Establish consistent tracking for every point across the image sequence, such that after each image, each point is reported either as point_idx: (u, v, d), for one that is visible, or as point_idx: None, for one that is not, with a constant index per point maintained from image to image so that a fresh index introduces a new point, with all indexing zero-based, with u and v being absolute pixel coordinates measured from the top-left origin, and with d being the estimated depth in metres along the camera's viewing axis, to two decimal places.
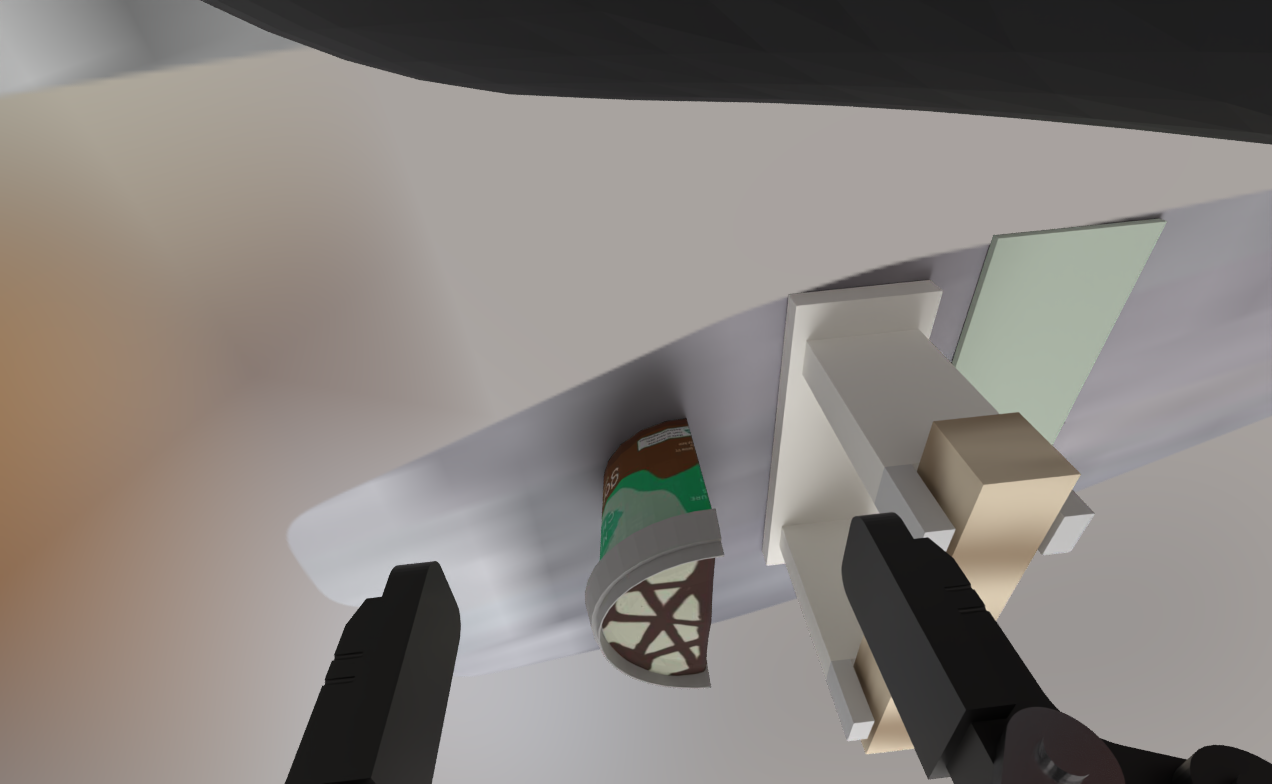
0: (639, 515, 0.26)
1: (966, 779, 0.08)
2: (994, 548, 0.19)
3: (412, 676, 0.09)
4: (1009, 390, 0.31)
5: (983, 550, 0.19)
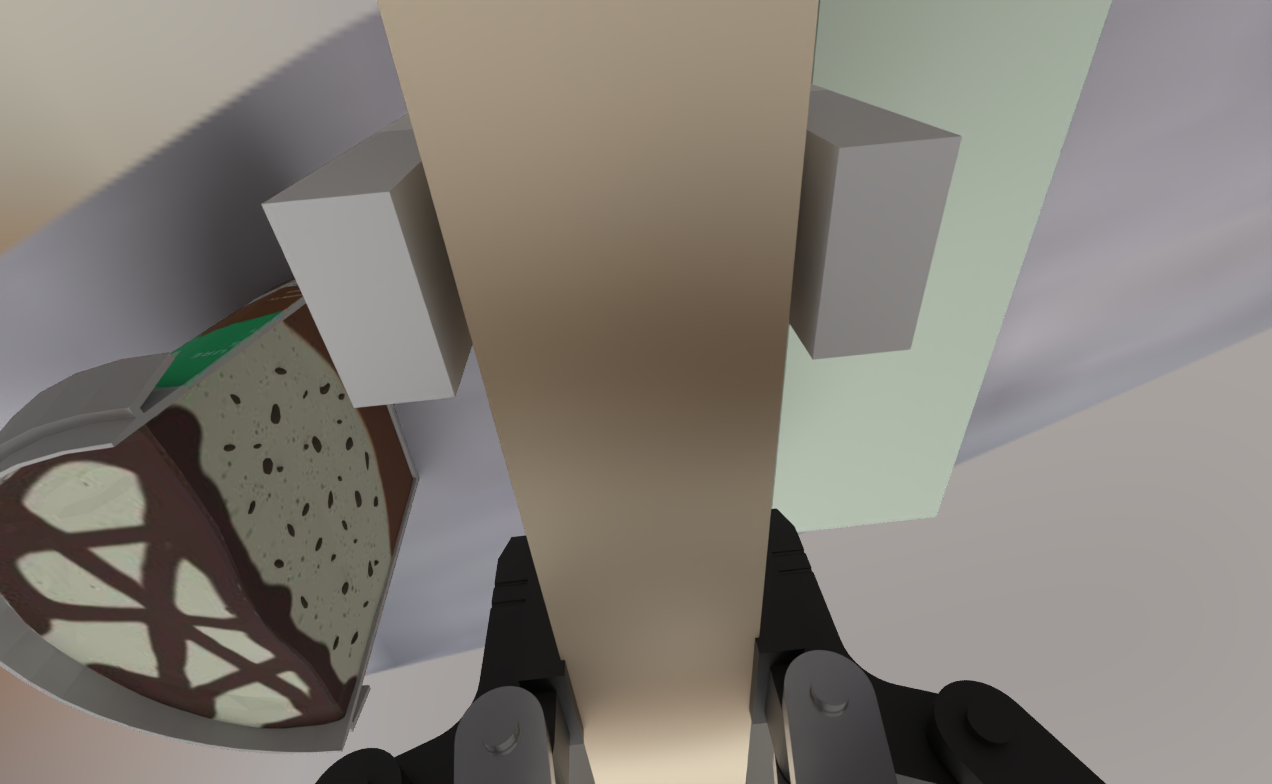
0: None
1: (771, 719, 0.09)
2: (622, 318, 0.05)
3: None
4: None
5: (581, 323, 0.05)
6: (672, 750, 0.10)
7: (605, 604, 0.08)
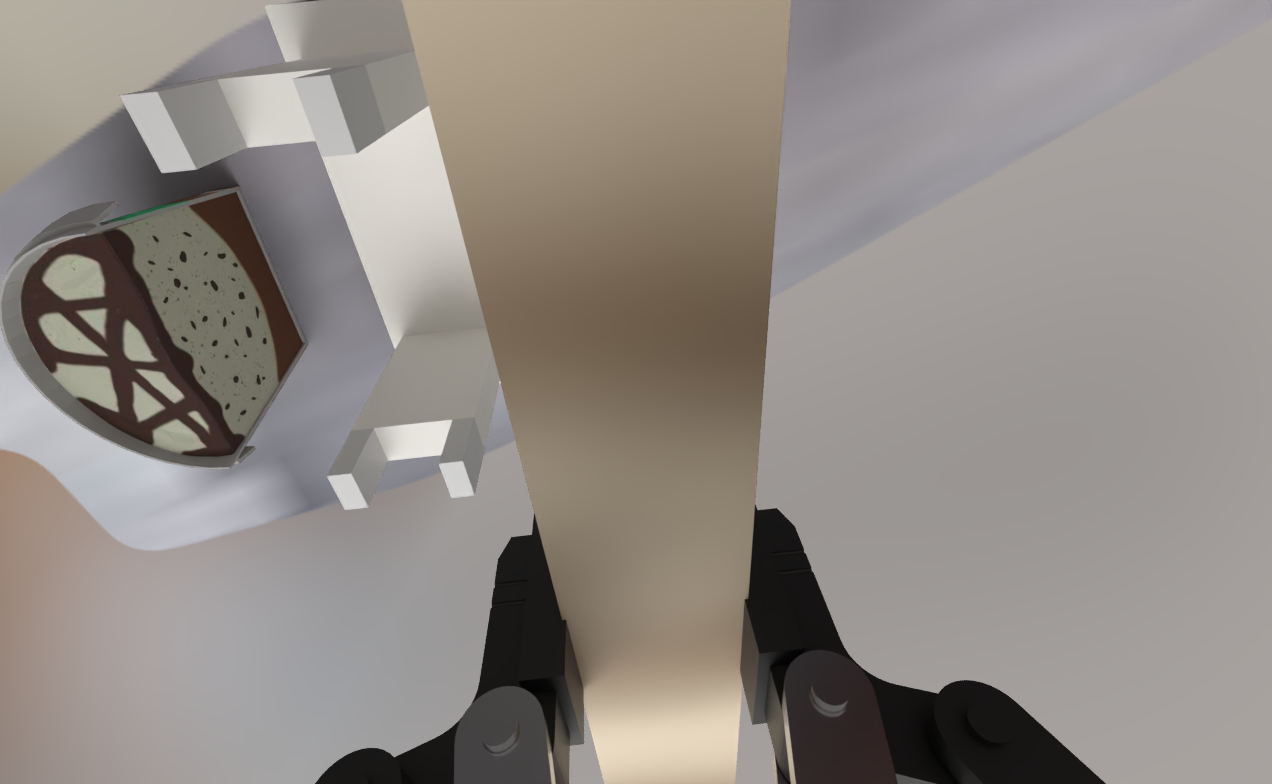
0: None
1: (772, 719, 0.09)
2: (617, 290, 0.06)
3: None
4: None
5: (581, 294, 0.06)
6: (668, 711, 0.11)
7: (604, 564, 0.08)
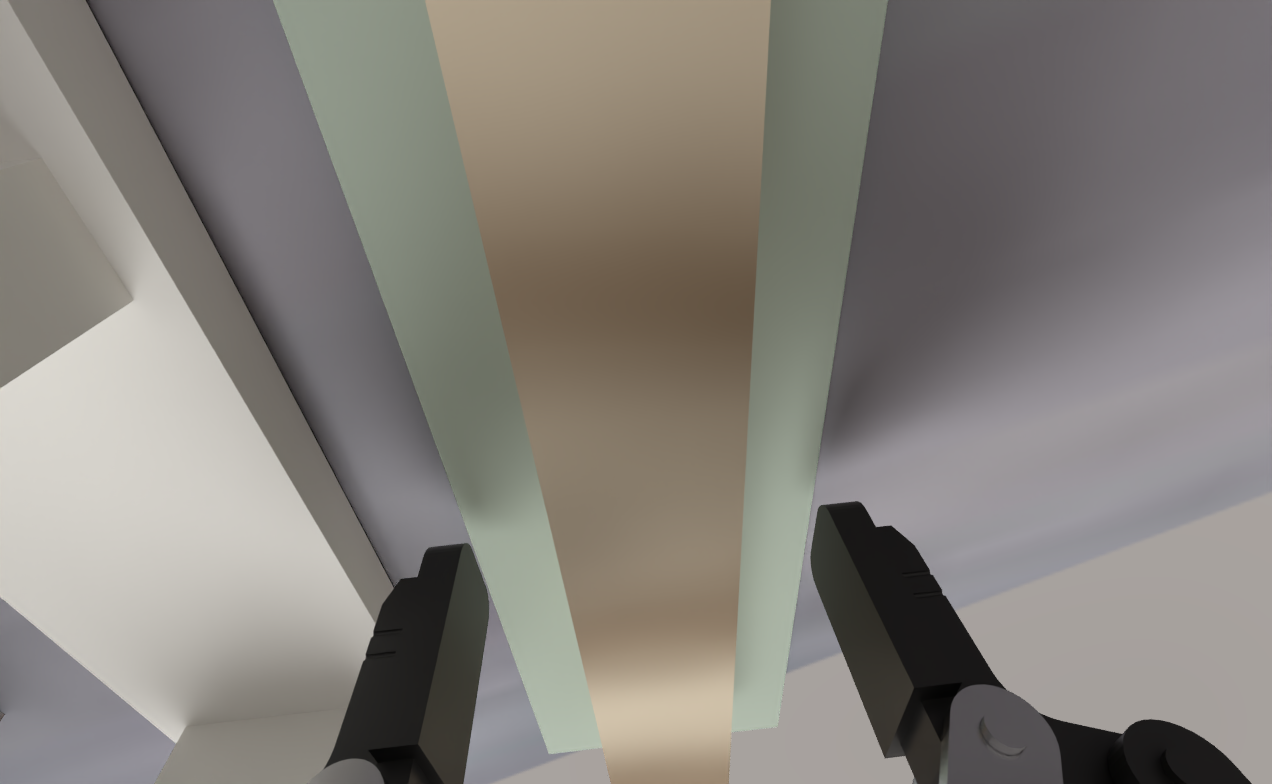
0: None
1: (917, 756, 0.08)
2: (616, 265, 0.06)
3: (450, 650, 0.09)
4: None
5: (582, 268, 0.06)
6: (665, 681, 0.11)
7: (603, 531, 0.09)
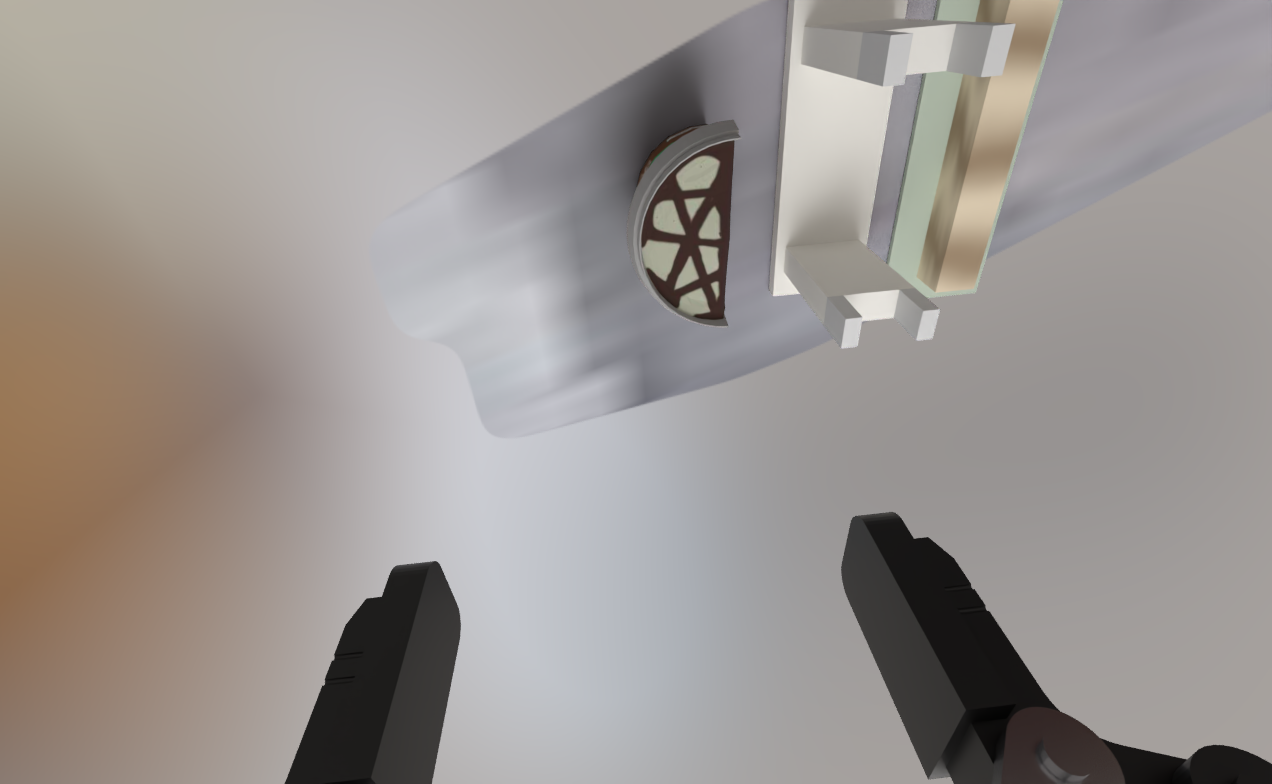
0: None
1: (966, 779, 0.08)
2: (1024, 34, 0.33)
3: (412, 675, 0.09)
4: None
5: (1017, 35, 0.33)
6: (983, 188, 0.39)
7: (992, 115, 0.36)
